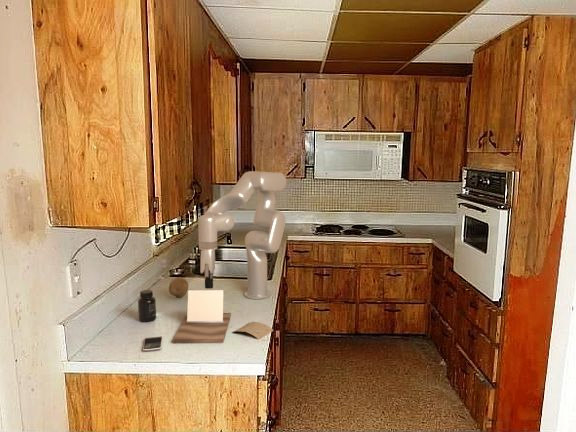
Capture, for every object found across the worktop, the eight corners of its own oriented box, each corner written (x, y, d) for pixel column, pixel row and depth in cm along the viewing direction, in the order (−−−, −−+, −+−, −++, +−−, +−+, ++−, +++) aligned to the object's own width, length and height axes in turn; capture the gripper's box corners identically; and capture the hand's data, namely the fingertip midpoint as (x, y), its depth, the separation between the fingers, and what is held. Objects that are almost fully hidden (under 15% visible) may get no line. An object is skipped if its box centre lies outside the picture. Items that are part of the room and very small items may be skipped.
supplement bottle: (155, 315, 182) (154, 288, 180) (156, 321, 175) (155, 293, 174) (138, 317, 180) (137, 289, 178) (138, 323, 173) (137, 295, 171)
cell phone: (142, 353, 148) (142, 350, 148) (145, 340, 159) (145, 336, 158) (161, 352, 149) (161, 348, 149) (162, 338, 160) (162, 335, 160)
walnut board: (188, 316, 181) (187, 313, 181) (230, 316, 181) (230, 312, 181) (173, 343, 155) (173, 339, 155) (223, 343, 156) (223, 339, 155)
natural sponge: (178, 303, 197) (177, 282, 196) (164, 299, 202) (164, 278, 201) (192, 297, 205) (192, 277, 203) (179, 294, 210) (179, 274, 208)
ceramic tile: (188, 290, 173) (187, 290, 172) (224, 290, 173) (223, 290, 172) (186, 323, 170) (186, 323, 169) (223, 322, 170) (223, 323, 169)
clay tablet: (275, 332, 167) (275, 325, 166) (261, 342, 158) (261, 335, 157) (244, 325, 173) (243, 318, 173) (229, 334, 165) (229, 327, 164)
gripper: (202, 241, 185) (203, 282, 188) (195, 249, 170) (196, 293, 173) (219, 241, 185) (220, 282, 188) (214, 249, 170) (215, 293, 173)
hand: (209, 287), depth 180 cm, fingers closed
